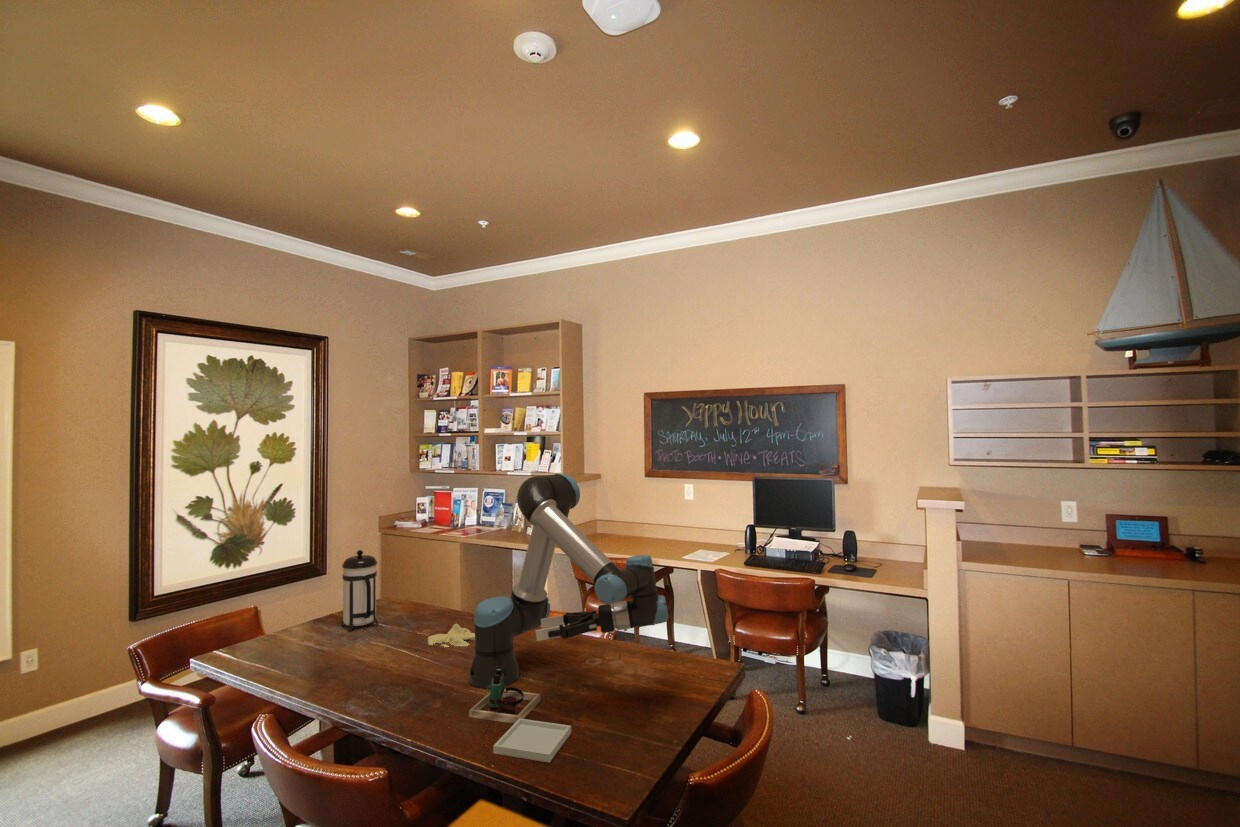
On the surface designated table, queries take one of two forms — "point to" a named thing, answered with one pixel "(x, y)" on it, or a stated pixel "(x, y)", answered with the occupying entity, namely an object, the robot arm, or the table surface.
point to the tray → (532, 740)
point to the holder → (501, 717)
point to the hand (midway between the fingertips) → (538, 629)
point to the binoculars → (497, 692)
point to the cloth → (453, 637)
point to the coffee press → (359, 590)
